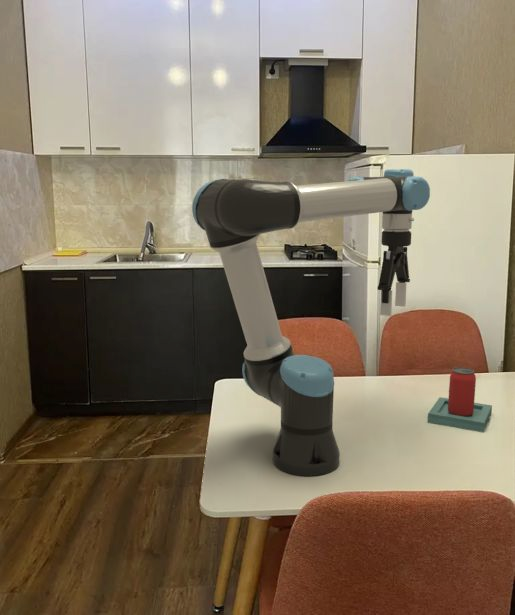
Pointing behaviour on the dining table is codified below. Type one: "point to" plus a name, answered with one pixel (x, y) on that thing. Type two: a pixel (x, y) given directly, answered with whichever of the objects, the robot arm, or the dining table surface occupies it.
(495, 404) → the dining table surface
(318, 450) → the robot arm
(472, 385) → the beer can
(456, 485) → the dining table surface
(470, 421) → the coaster
